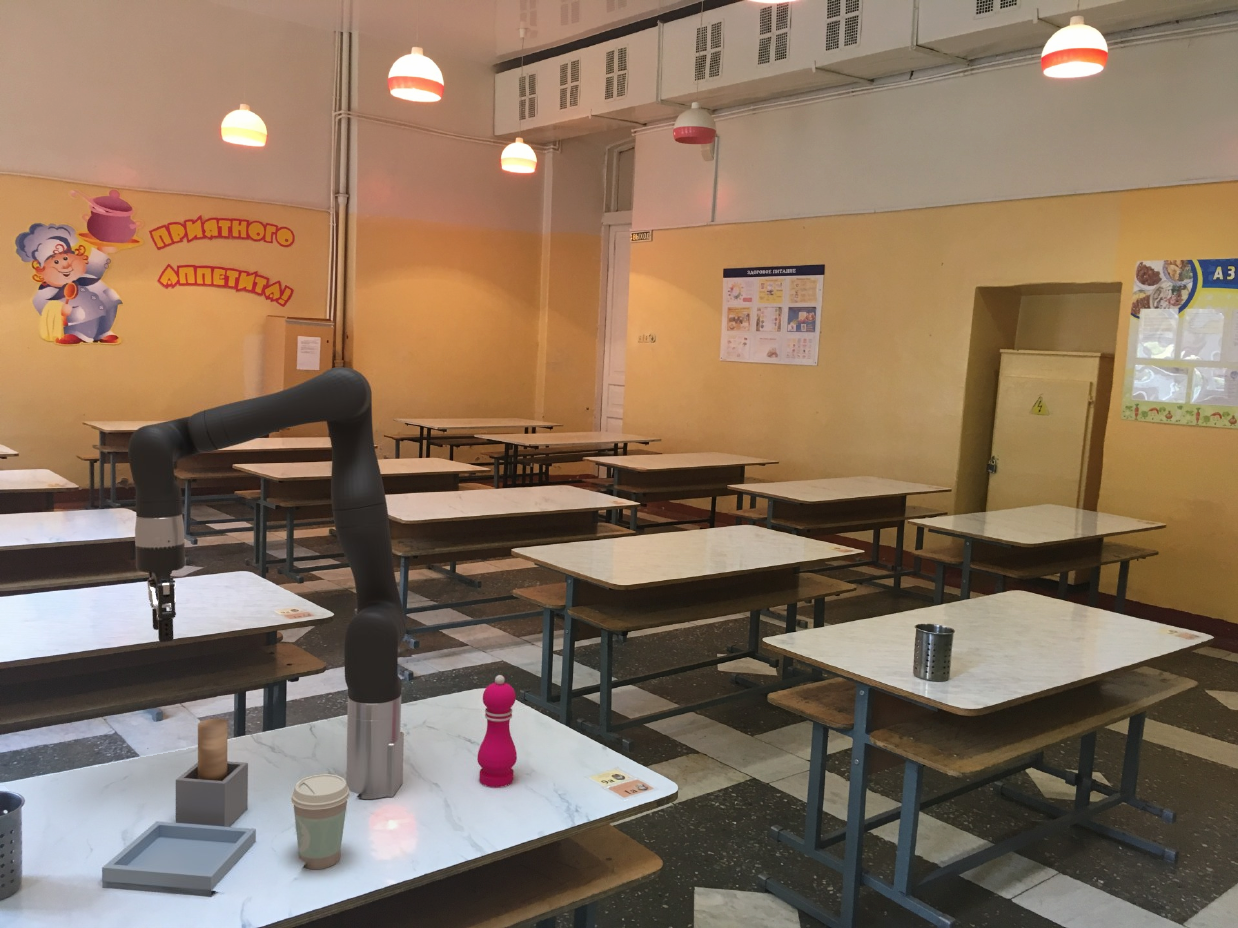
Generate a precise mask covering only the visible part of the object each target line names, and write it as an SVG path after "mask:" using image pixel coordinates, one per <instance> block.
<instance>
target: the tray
mask: <svg viewBox="0 0 1238 928" xmlns="http://www.w3.org/2000/svg"><path fill="white" fill-rule="evenodd" d="M256 834H257V829H256V828H247V827H235V826H230V827H223V826H211V825H198V824H185V823H176V822H172V821H171V822H170V821H158V820H157V821H154V823H153V824H152V825H150V826H149V827H148V828H147V829H145V830H144V831H143V832H142V833H140V835H138V837H136V838H135V839H134V840H133V841H132V842H130V843H129V844H128V845H127V846H125V848H123V849H122V850H121V851H119V853H117V854H116V855H115V856H113V858H112V859H110V860H109V861H108V862H107V863H106V864H104V865H103V866H102V867H101V885H102V887H101V888H103V889H113V890H114V889H115V890H124V891H137V892H138V891H139V892H148V893H160V894H162V893H163V894H171V895H172V894H175V895H187V896H199V897H208V898H212V897H213V896H214V894H215V893H216V892H217V890H213V889H214V888H215V887H216V886H217V885H218V884H219V883H220V881H221V880H222V879H223V878H224V877H225V876H226V875H227V874H228V873H229V872H230V871H231V870H232V868H233V867H234V866H235V865H236V864H237V863H238V862H240V859H241V858H243V856H244V855H245V854H246V853H247V852H248V851H249V850H250V849H251V847H252V846H254V844H255V843H256V842H257V839H256V838H257V836H256Z"/></svg>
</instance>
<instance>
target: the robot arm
mask: <svg viewBox="0 0 1238 928" xmlns="http://www.w3.org/2000/svg"><path fill="white" fill-rule="evenodd" d="M372 398H373V397H372V388H371V385H370V383H369V381H368V380H367V378H366V377H365V376H364V375H363V374H362V372H359V371H358V370H356V369H353V368H350V367H344V366H342V367H339V366H338V367H337V366H336V367H332V368H329V369H326V371H324V372H322V373H321V374H319V375H317V376H314V377H312V378H310V379H308V380H306V381H304V382H301V383H300V384H297V385H294V386H292V387H288V388H286V389H283V390H280V391H277V392H273V393H270V394H266V395H262V396H257V397H256V396H255V397H253V398H249V399H243V400H238V401H235V402H231V403H226V404H222V405H219V406H215V407H211V408H207V409H204V410H202V411H201V410H200V411H198V412H196V413H194V414H192V415H190V416H185V417H180V418H176V419H175V418H174V419H172V420H167V421H163V422H159V423H158V422H157V423H153V424H146V425H144V426H141V427H139V428H137V429H136V430H135V431H134V432H133V433H132V434H131V436H130V439H129V442H128V446H127V447H128V448H127V449H128V451H127V454H128V455H127V457H128V463H129V468H130V469H129V470H130V472H131V477H132V482H133V485H134V488H135V513H136V514H135V515H136V516H135V527H134V540H135V544H134V545H135V546H134V547H135V567H136V568H135V569H136V570H137V571H139V572H141V573H147V574H148V579H147V582H146V583H147V590H148V600H149V604H150V607H151V611H152V615H151V616H152V629H153V630H155V631H157V635H158V641H159V642H160V643H165V642H167V643H168V642H171V641H173V640H174V618H176V616H177V611H176V603H177V599H176V587H177V585H176V580H174V577H172V575H171V573H172V572H173V571H180V570H181V569H183V568H184V567H186V548H185V546H186V545H185V543H186V541H185V524H184V519H183V502H182V501H183V499H182V497H183V495H182V488H181V486H180V484H179V482H178V481H176V479H175V478H176V477H175V468H174V466H175V465H174V462H177V461H180V460H183V459H186V458H189V457H193V456H196V455H198V454H202V453H209V452H215V451H219V450H223V449H227V448H230V447H233V446H237V445H241V444H244V443H246V442H251V441H253V440H256V439H259V438H262V437H264V436H268V435H270V434H272V433H273V434H274V433H275V432H278V431H281V430H284V429H288V428H293V427H296V426H302V425H307V424H314V423H324V422H326V425H327V430H328V433H329V438H330V439H329V440H330V446H331V457H332V458H331V476H330V477H331V478H330V480H331V481H330V485H331V486H330V494H331V495H330V496H331V497H330V499H331V501H330V502H331V509H332V517H333V522H334V529H335V534H336V538H337V542H338V544H339V546H340V548H341V551H342V554H343V555H344V558H345V560H346V561H347V563H348V567H349V568H350V570H351V573H352V576H353V580H354V587H355V592H356V593H355V594H356V614H355V616H353V617H352V618H351V619H350V621H349V622H348V624H347V626H346V627H345V628H346V630H345V633H344V641H343V642H344V644H343V645H344V646H343V651H344V653H343V654H344V655H343V657H344V659H343V660H344V661H343V662H344V681H345V684H346V687H347V714H346V716H347V718H346V719H347V720H346V721H347V723H346V724H347V726H346V732H347V733H346V771H345V773H346V776H345V780H346V783H347V786H348V788H349V792H352V793H355V794H357V796H356V798H358V799H363V800H364V799H365V800H369V799H370V800H374V799H381V798H385V797H389V798H390V797H391V798H392V797H394V796H395V794H396V793H397V792H398V790H399V789H400V787H401V786H402V784H403V783H404V779H403V778H404V751H405V750H404V746H405V745H404V743H405V738H404V737H405V733H404V732H403V731H401V727H402V726H401V724H402V723H401V722H402V720H401V719H402V690H403V689H402V688H403V687H402V683H403V682H402V679H401V677H400V676H399V671H398V669H399V668H398V665H399V664H398V659H399V655H398V652H399V646H400V645H401V643H403V641H404V639H405V635H406V634H407V618H406V615H405V611H404V607H403V604H402V599H401V595H400V591H399V587H398V585H397V584H398V583H397V579H396V574H395V567H394V557H393V556H394V555H393V553H394V552H393V545H392V537H391V529H390V519H389V512H388V505H387V497H386V492H385V489H384V482H383V478H382V473H381V472H382V471H381V468H380V465H379V464H380V463H379V460H378V457H377V452H376V448H375V442H374V441H375V440H374V433H373V432H374V430H373V406H372V405H373V403H372V401H373V399H372ZM167 609H169V610H167Z"/></svg>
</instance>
